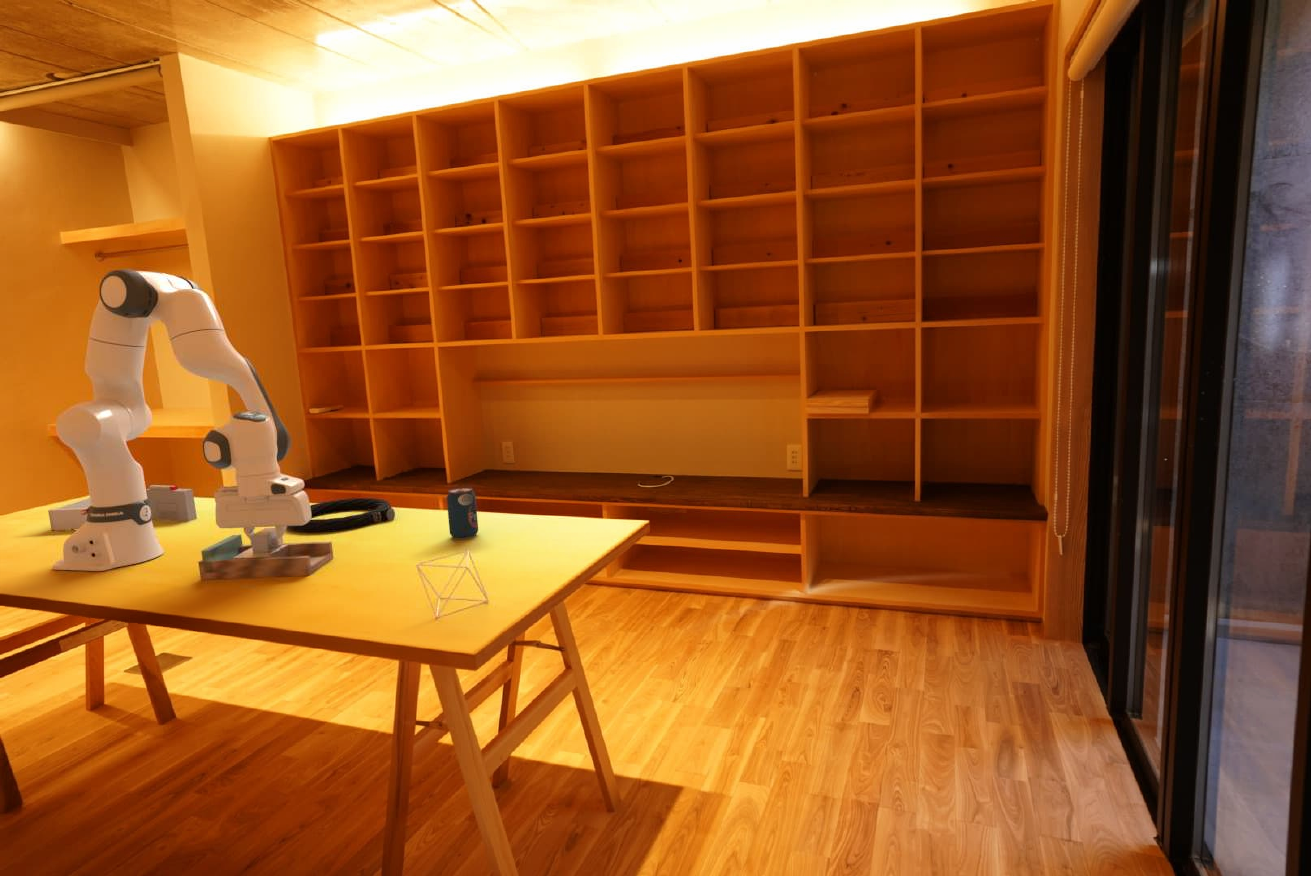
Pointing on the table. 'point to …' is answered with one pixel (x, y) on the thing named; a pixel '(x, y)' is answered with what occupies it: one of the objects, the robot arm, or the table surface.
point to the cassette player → (171, 503)
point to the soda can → (462, 513)
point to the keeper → (264, 546)
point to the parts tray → (69, 515)
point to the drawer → (262, 560)
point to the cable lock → (378, 514)
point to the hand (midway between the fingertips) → (267, 545)
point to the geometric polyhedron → (449, 581)
